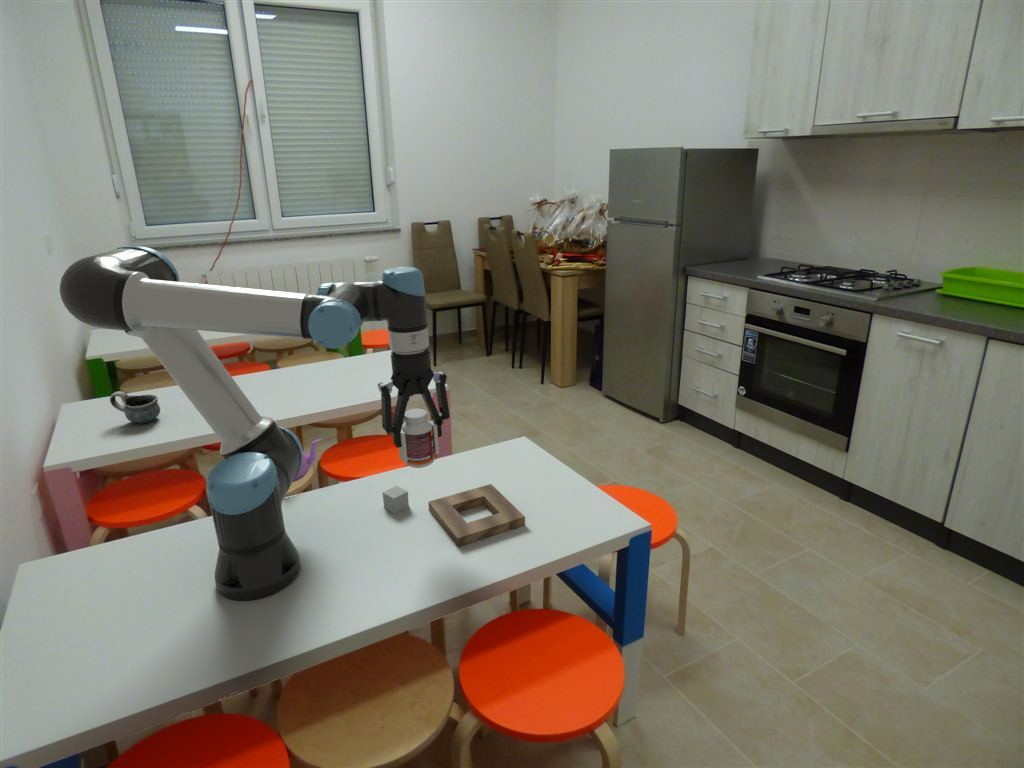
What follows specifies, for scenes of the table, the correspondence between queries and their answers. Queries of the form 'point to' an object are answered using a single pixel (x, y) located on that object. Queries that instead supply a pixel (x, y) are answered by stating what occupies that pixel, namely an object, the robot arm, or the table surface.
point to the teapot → (307, 461)
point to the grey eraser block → (395, 499)
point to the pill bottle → (418, 438)
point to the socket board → (482, 528)
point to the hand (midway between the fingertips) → (419, 455)
